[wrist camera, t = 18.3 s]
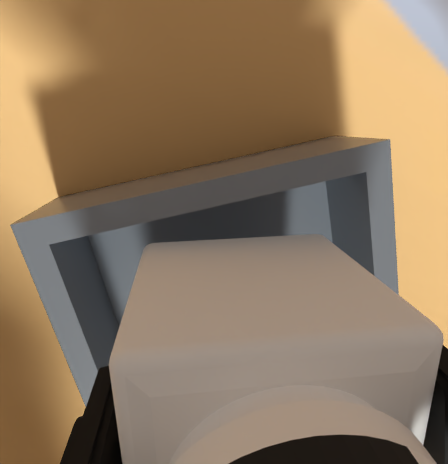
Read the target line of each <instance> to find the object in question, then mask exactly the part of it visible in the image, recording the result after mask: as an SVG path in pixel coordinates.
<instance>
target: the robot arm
mask: <svg viewBox="0 0 448 464" xmlns="http://www.w3.org/2000/svg"><path fill="white" fill-rule="evenodd" d="M423 446H424V447H425V449H426V450H427V451H428V453H429V454H430V455H431V457H432V458H433V459H434V461H435V462H436V463H437V464H448V349H447V348H446V347H445V346H443V345H442V350H441V356H440V361H439V366H438V371H437V376H436V382H435V387H434V392H433V397H432V402H431V408H430V413H429V418H428V423H427V428H426V433H425V439H424V444H423ZM60 464H122V457H121V450H120V443H119V436H118V428H117V421H116V414H115V407H114V400H113V393H112V385H111V378H110V371H109V366H105V367H101V368H99V370H98V373H97V376H96V379H95V382H94V385H93V388H92V391H91V394H90V397H89V400H88V403H87V405H86V408H85V411H84V414H83V416H81V417H79V418H78V419H76V421H75V423H74V426H73V429H72V432H71V434H70V437H69V440H68V443H67V446H66V448H65V451H64V454H63V457H62V460H61V462H60Z"/></svg>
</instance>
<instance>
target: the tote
mask: <svg viewBox="0 0 448 464" xmlns="http://www.w3.org/2000/svg"><path fill="white" fill-rule="evenodd" d="M11 228H12V230H13V233H14V235H15V237H16V240H17V242H18V245H19V247H20V250H21V252H22V254H23V257H24V259H25V262H26V264H27V266H28V269H29V271H30V274H31V276H32V278H33V281H34V283H35V286H36V288H37V291H38V293H39V295H40V298H41V300H42V303H43V305H44V307H45V310H46V312H47V315H48V317H49V319H50V322H51V324H52V327H53V329H54V332H55V334H56V336H57V339H58V341H59V344H60V346H61V348H62V351H63V353H64V356H65V358H66V361H67V363H68V365H69V368H70V370H71V373H72V375H73V377H74V380H75V382H76V385H77V387H78V389H79V392H80V394H81V397H82V399H83V402H84V404H85V406H86V405H87V403H88V400H89V397H90V394H91V391H92V388H93V385H94V382H95V379H96V376H97V373H98V370H99V368H101V367H105V366H109V360H110V356H111V352H112V349H113V346H114V343H115V339H116V336H117V333H118V330H119V327H120V323H121V320H122V317H123V314H124V310H125V307H126V304H127V301H128V298H129V294H130V291H131V288H132V285H133V282H134V278H135V275H136V272H137V269H138V265H139V262H140V259H141V256H142V253H143V249H144V248H145V247H146V246H147V245H148V244H151V243H160V242H178V241H197V240H215V239H233V238H251V237H270V236H288V235H306V234H320V235H323V236H324V237H326V238H327V239H328V240H329V241H331V242H332V243H333V244H334V245H336V246H337V247H338V248H339V249H341V250H342V251H343V252H345V253H346V254H347V255H348V256H350V257H351V258H352V259H353V260H355V261H356V262H357V263H358V264H360V265H361V266H362V267H364V268H365V269H366V270H367V271H369V272H370V273H371V274H372V275H374V276H375V277H376V278H377V279H379V280H380V281H381V282H383V283H384V284H385V285H386V286H388V287H389V288H390V289H391V290H393V291H394V292H395V293H396V294H398V275H397V257H396V239H395V221H394V203H393V184H392V166H391V148H390V139H375V138H359V137H343V136H331V137H327V138H322V139H318V140H313V141H309V142H304V143H300V144H295V145H291V146H286V147H282V148H277V149H273V150H268V151H264V152H259V153H255V154H250V155H246V156H241V157H237V158H232V159H228V160H223V161H219V162H214V163H210V164H205V165H201V166H196V167H192V168H187V169H183V170H178V171H174V172H169V173H165V174H160V175H156V176H151V177H147V178H142V179H138V180H133V181H129V182H124V183H120V184H115V185H111V186H107V187H102V188H98V189H93V190H89V191H84V192H80V193H75V194H71V195H66V196H62V197H58V198H56V199H54V200H53V201H51V202H49V203H47V204H46V205H44V206H42V207H40V208H39V209H37V210H35V211H33V212H32V213H30V214H28V215H27V216H25V217H23V218H21V219H20V220H18V221H16V222H14V223H13V224H11ZM398 295H399V294H398Z"/></svg>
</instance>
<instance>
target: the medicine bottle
mask: <svg viewBox="0 0 448 464" xmlns="http://www.w3.org/2000/svg"><path fill="white" fill-rule="evenodd" d="M442 345H443V334H442V332H441V331H440V329H439V328H438V327H437V326H436V325H435V324H434V323H433V322H432V321H431V320H429V319H428V318H427V317H426V316H424V315H423V314H422V313H421V312H419V311H418V310H417V309H415V308H414V307H413V306H412V305H410V304H409V303H408V302H407V301H405V300H404V299H403V298H402V297H400V296H399V295H398V294H396V293H395V292H394V291H393V290H391V289H390V288H389V287H388V286H386V285H385V284H384V283H383V282H381V281H380V280H379V279H377V278H376V277H375V276H374V275H372V274H371V273H370V272H369V271H367V270H366V269H365V268H364V267H362V266H361V265H360V264H358V263H357V262H356V261H355V260H353V259H352V258H351V257H350V256H348V255H347V254H346V253H345V252H343V251H342V250H341V249H339V248H338V247H337V246H336V245H334V244H333V243H332V242H331V241H329V240H328V239H327V238H326V237H324V236H323V235H320V234H306V235H288V236H270V237H251V238H233V239H215V240H197V241H178V242H160V243H151V244H148V245H147V246H146V247H145V248H144V249H143V253H142V256H141V259H140V262H139V265H138V269H137V272H136V275H135V278H134V282H133V285H132V288H131V291H130V294H129V298H128V301H127V304H126V307H125V310H124V314H123V317H122V320H121V323H120V327H119V330H118V333H117V336H116V339H115V343H114V346H113V349H112V352H111V356H110V360H109V371H110V378H111V385H112V393H113V400H114V407H115V414H116V421H117V428H118V436H119V443H120V450H121V457H122V464H437V463H436V462H435V461H434V459H433V458H432V457H431V455H430V454H429V453H428V451H427V450H426V449H425V447H424V446H423V444H424V439H425V433H426V428H427V423H428V418H429V413H430V408H431V402H432V397H433V392H434V387H435V382H436V376H437V371H438V366H439V361H440V356H441V350H442Z"/></svg>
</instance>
